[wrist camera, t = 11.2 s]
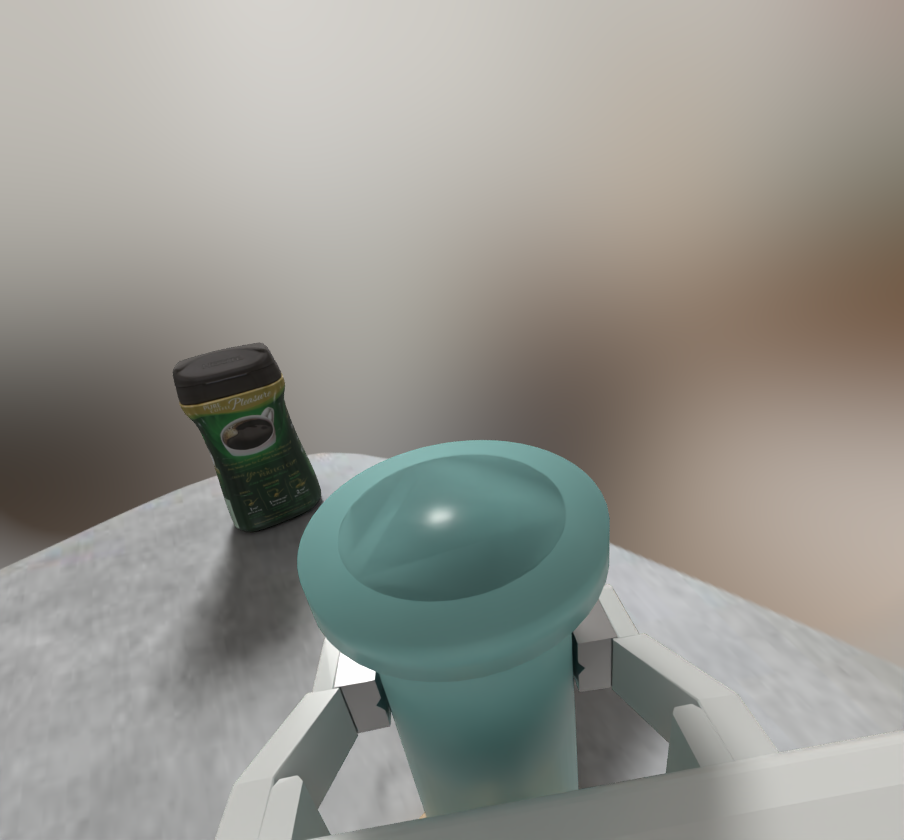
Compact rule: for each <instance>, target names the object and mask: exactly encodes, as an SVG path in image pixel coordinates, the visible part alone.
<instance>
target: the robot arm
mask: <svg viewBox="0 0 904 840" xmlns="http://www.w3.org/2000/svg"><path fill="white" fill-rule="evenodd" d="M571 634H572V656H573V676H574V679H575V681H576V684H577V687H578V689H579V692H584V691H591V690H598V689H605V688H611V687H612V690H614V691H615V692H616V693H617V694H618V695H619V696H620V697H621V698H622V699H623V700H624V701H625V702H626V703H627V704H628V705H629V706H630V707H632V708H633V709H634V710H635V711H636V712H637V713H638V714H639V715H640V716H641V717H642V718H643V719H644V720H645V721H646V722H647V723H648V724H650V725H651V726H652V727H653V728H654V729H655V730H656V731H657V732H658V733H659V734H660V735H661V736H662V737H663V738H664V739H665V740H666V741H668V742H669V750H668V759H667V768H666V774H660V775H655V776H650V777H644V778H639V779H633V780H628V781H622V782H617V783H611V784H606V785H600V786H595V787H590V788H584V789H579V790H573V791H568V792H562V793H557V794H551V795H546V796H540V797H535V798H530V799H524V800H519V801H513V802H508V803H502V804H497V805H492V806H486V807H481V808H475V809H470V810H465V811H459V812H454V813H448V814H443V815H438V816H432V817H427V818H421V819H416V820H411V821H405V822H400V823H394V824H389V825H383V826H378V827H373V828H367V829H362V830H356V831H351V832H345V833H340V834H335V835H331V834H330V833H329V831H328V829H327V827H326V825H325V823H324V821H323V819H322V817H321V815H320V813H319V811H318V808H319V806H320V804H321V802H322V801H323V799H324V797H325V795H326V793H327V791H328V790H329V788H330V786H331V784H332V782H333V781H334V779H335V777H336V775H337V773H338V771H339V770H340V768H341V766H342V764H343V762H344V760H345V759H346V757H347V755H348V753H349V751H350V749H351V748H352V746H353V744H354V742H355V740H356V738H357V737H358V734H357V733H361V732H366V731H371V730H375V729H380V728H385V727H390V723H391V709H390V706H389V702H388V699H387V696H386V693H385V690H384V687H383V684H382V681H381V678H380V675H379V673H377V672H375V671H373V670H370V669H368V668H366V667H363V666H361V665H359V664H357V663H356V662H354V661H353V660H351V659H349V658H348V657H346V656H345V655H343V654H342V653H341V652H340V651H339V650H338V649H336V648H335V647H334V646H333V645H332V644H331V643H330V642H329V641H328V640H327V638H326V637H325V639H324V642H323V647H322V651H321V655H320V660H319V664H318V669H317V673H316V677H315V682H314V686H313V690H312V692H311V693H307V694H306V695H305V696H304V697H303V699H302V700H301V701H300V702H299V704H298V705H297V706H296V707H295V709H294V710H293V711H292V712H291V714H290V715H289V716H288V717H287V718H286V720H285V721H284V722H283V723H282V725H281V726H280V727H279V728H278V730H277V731H276V732H275V733H274V735H273V736H272V737H271V738H270V740H269V741H268V742H267V743H266V745H265V746H264V747H263V748H262V750H261V751H260V752H259V753H258V755H257V756H256V757H255V758H254V760H253V761H252V762H251V763H250V765H249V766H248V767H247V768H246V770H245V771H244V772H243V773H242V775H241V776H240V777H239V778H238V780H237V781H236V782H235V783H234V785H233V787H232V790H231V793H230V796H229V799H228V802H227V805H226V808H225V811H224V814H223V817H222V820H221V823H220V826H219V829H218V832H217V835H216V838H215V840H904V730H899V731H893V732H888V733H883V734H877V735H872V736H866V737H861V738H855V739H850V740H845V741H839V742H834V743H828V744H823V745H818V746H812V747H807V748H801V749H796V750H790V751H785V752H780V753H779V751H778V750H777V749H776V747H775V746H774V744H773V743H772V742H771V740H770V739H769V737H768V736H767V734H766V733H765V732H764V730H763V729H762V727H761V726H760V725H759V723H758V722H757V720H756V719H755V718H754V716H753V715H752V713H751V712H750V710H749V709H748V708H747V706H746V705H745V703H744V702H743V701H742V699H741V698H740V696H739V695H738V694H737V693H735V692H734V691H732V690H731V689H729V688H728V687H726V686H725V685H723V684H722V683H720V682H719V681H717V680H716V679H714V678H712V677H711V676H709V675H708V674H706V673H705V672H703V671H702V670H700V669H699V668H697V667H696V666H694V665H693V664H691V663H690V662H688V661H687V660H685V659H684V658H682V657H680V656H679V655H677V654H676V653H674V652H673V651H671V650H670V649H668V648H667V647H665V646H664V645H662V644H661V643H659V642H658V641H656V640H655V639H653V638H652V637H650V636H648V635H647V634H645V633H642V634H639V632H638V631H637V629H636V627H635V625H634V624H633V622H632V620H631V619H630V617H629V615H628V613H627V612H626V610H625V608H624V606H623V605H622V603H621V601H620V599H619V598H618V596H617V594H616V592H615V591H614V589H613V587H612V586H611V585H610V584H606V585H604V587H603V590H602V592H601V595H600V597H599V599H598V601H597V602H596V604H595V605H594V607H593V608H592V610H591V611H590V613H589V615H588V616H587V617H586V618H585V619H584V620H583V621H582V622H581V623H580V625H579V626H578V627H577V628H576V629H575V630H574V631H573V632H572V633H571Z"/></svg>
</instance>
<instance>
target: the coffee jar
mask: <svg viewBox="0 0 904 840" xmlns="http://www.w3.org/2000/svg"><path fill="white" fill-rule="evenodd" d="M173 378H174V383H175V386H176V390H177V394H178V398H179V404H180V406H181V408H182V410H183V411H184V413H185V414H186V415H187V416H188V417H189V418H190V419H191V420H192V421H193V422H194V423H195V424H196V426H197V427H198V428H199V430H200V432H201V434H202V436H203V438H204V440H205V443H206V445H207V448H208V450H209V452H210V455H211V458H212V461H213V463H214V467H215V470H216V473H217V476H218V479H219V482H220V486H221V489H222V492H223V495H224V499H225V502H226V505H227V508H228V510H229V513H230V516H231V518H232V520H233V522H234V525H235V526H236V527H237V528H238V529H240V530H243V531H248V532H253V531H258V530H261V529H264V528H267V527H270V526H273V525H276V524H278V523H281V522H283V521H286V520H288V519H291V518H293V517H295V516H298V515H300V514H302V513H304V512H306V511H308V510H310V509H311V508H313V507H314V506H315V505H316V503H317V502H318V501H319V499H320V497H321V489H320V486H319V483H318V480H317V477H316V474H315V472H314V470H313V467H312V465H311V463H310V461H309V459H308V457H307V455H306V453H305V451H304V449H303V446H302V444H301V442H300V440H299V438H298V436H297V433H296V431H295V429H294V426H293V424H292V421H291V419H290V416H289V413H288V410H287V408H286V405H285V401H284V390H285V382H284V378H283V375H282V373H281V371H280V369H279V367H278V365H277V363H276V362H275V360H274V358H273V356H272V354H271V353H270V351H269V349H268V348H267V346H265V345H264V344H263V343H253V344H248V345H242V346H237V347H231V348H226V349H222V350H218V351H213V352H209V353H206V354H202V355H198V356H195V357H192V358H188V359H185V360H182V361H179V362H178V363H177V364H176V366H175V367H174V369H173Z"/></svg>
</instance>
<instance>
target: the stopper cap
mask: <svg viewBox="0 0 904 840" xmlns="http://www.w3.org/2000/svg"><path fill="white" fill-rule="evenodd" d="M609 519H610V518H609V513H608V508H607V504H606V502H605V500H604V497H603V495H602V493H601V491H600V490H599V489H598V487H597V486H596V484H595V483H594V481H593V480H592V479H591V478H590V477H589V476H588V475H587V474H586V473H585V472H584V471H582V470H581V469H580V468H578V467H577V466H576V465H574V464H573V463H571V462H569V461H568V460H566V459H564V458H563V457H560V456H558V455H556V454H554V453H551V452H549V451H546V450H543V449H540V448H537V447H533V446H529V445H525V444H519V443H513V442H506V441H494V440H471V441H458V442H449V443H443V444H437V445H432V446H428V447H423V448H419V449H416V450H412V451H409V452H406V453H403V454H400V455H397V456H394V457H392V458H390V459H387V460H385V461H383V462H380V463H378V464H376V465H374V466H372V467H370V468H368V469H366V470H365V471H363V472H361V473H360V474H358V475H356V476H355V477H353V478H352V479H350V480H349V481H348V482H346V483H345V484H343V485H342V486H341V487H340V488H339V489H337V490H336V491H335V492H334V493H333V494H331V495H330V497H329V498H328V499H327V500H326V501H325V502H324V503H323V504H322V505H321V506H320V507H319V509H318V510H317V511H316V512H315V514H314V515H313V516H312V518H311V520H310V521H309V523H308V525H307V526H306V528H305V531H304V533H303V536H302V538H301V540H300V545H299V549H298V554H297V569H298V574H299V579H300V583H301V586H302V588H303V591H304V593H305V596H306V598H307V601H308V603H309V606H310V608H311V611H312V613H313V616H314V618H315V620H316V622H317V625H318V627H319V628H320V630H321V631H322V633H323V634H324V635H325V637H326V638H327V640H328V641H329V642H330V643H331V644H332V645H333V646H334V647H335V648H336V649H338V650H339V651H340V652H341V653H342V654H343V655H345V656H346V657H348V658H349V659H351V660H353V661H354V662H356V663H357V664H359V665H361V666H363V667H366V668H368V669H370V670H373V671H375V672H377V673H379V675H380V678H381V681H382V684H383V687H384V690H385V693H386V696H387V699H388V702H389V706H390V709H391V712H392V715H393V718H394V721H395V724H396V727H397V730H398V733H399V736H400V739H401V742H402V745H403V748H404V751H405V754H406V757H407V760H408V763H409V766H410V769H411V772H412V775H413V778H414V781H415V784H416V787H417V790H418V793H419V796H420V799H421V802H422V805H423V808H424V811H425V814H426V817H432V816H438V815H443V814H448V813H454V812H459V811H465V810H470V809H475V808H481V807H486V806H492V805H497V804H502V803H508V802H513V801H519V800H524V799H530V798H535V797H540V796H546V795H551V794H557V793H562V792H568V791H573V790H579V788H578V766H577V744H576V722H575V700H574V678H573V656H572V634H571V633H572V632H573V631H574V630H575V629H576V628H577V627H578V626H579V625H580V623H581V622H582V621H583V620H584V619H585V618H586V617H587V616H588V615H589V613H590V611H591V610H592V608H593V607H594V605H595V604H596V602H597V601H598V599H599V597H600V595H601V592H602V590H603V587H604V585H605V582H606V578H607V574H608V569H609Z"/></svg>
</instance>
